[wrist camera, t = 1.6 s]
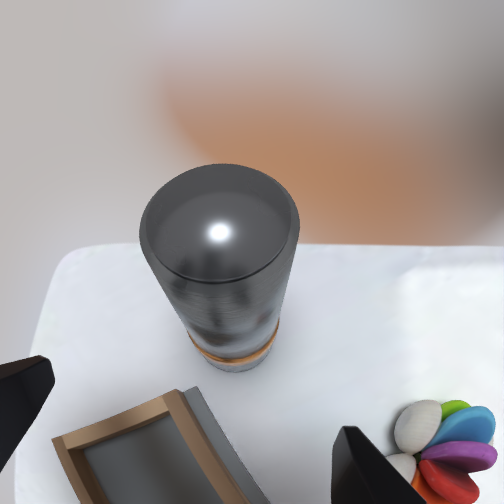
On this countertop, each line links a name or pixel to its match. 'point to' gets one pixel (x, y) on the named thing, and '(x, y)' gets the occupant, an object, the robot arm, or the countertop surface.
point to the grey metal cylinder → (223, 258)
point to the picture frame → (157, 457)
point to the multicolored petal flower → (444, 449)
